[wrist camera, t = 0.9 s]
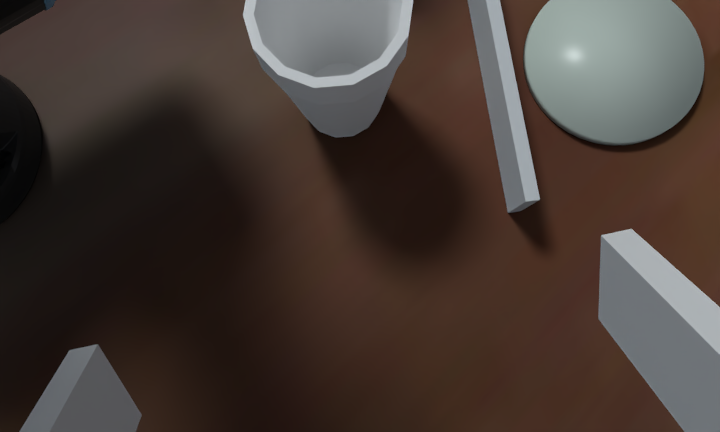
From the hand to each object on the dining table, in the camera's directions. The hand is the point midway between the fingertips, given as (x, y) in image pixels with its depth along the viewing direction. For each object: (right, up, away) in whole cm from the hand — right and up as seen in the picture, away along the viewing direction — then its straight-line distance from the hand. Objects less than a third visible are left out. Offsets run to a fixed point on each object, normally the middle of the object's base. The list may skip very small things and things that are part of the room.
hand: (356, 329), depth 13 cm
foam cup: (-1, +12, +28) cm, 30 cm away
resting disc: (+20, +15, +27) cm, 37 cm away
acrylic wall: (+11, +14, +27) cm, 33 cm away
